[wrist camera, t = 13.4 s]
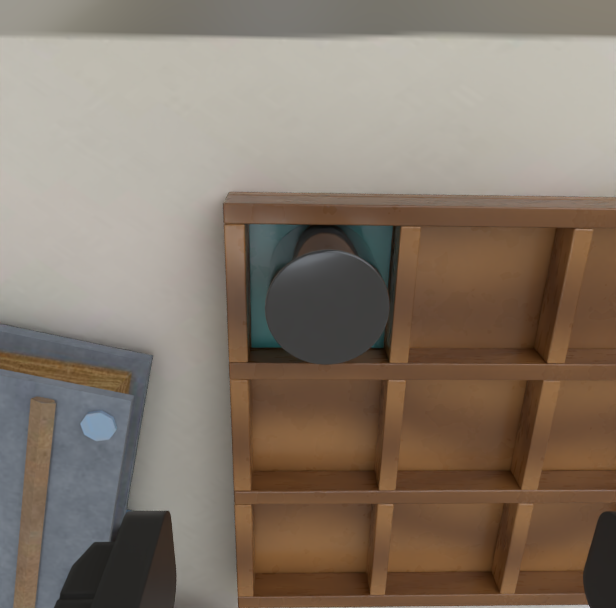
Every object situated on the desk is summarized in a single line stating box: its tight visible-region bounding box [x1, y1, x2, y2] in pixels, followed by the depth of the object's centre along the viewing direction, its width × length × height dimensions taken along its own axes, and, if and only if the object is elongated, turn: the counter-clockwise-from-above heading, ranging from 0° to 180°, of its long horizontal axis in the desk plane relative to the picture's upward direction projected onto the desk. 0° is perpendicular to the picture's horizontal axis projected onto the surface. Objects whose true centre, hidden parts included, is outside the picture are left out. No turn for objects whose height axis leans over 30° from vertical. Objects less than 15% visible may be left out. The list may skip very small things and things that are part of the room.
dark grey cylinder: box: [265, 225, 390, 365], centre depth 22 cm, size 4×4×4 cm
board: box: [223, 192, 616, 608], centre depth 27 cm, size 21×21×2 cm
